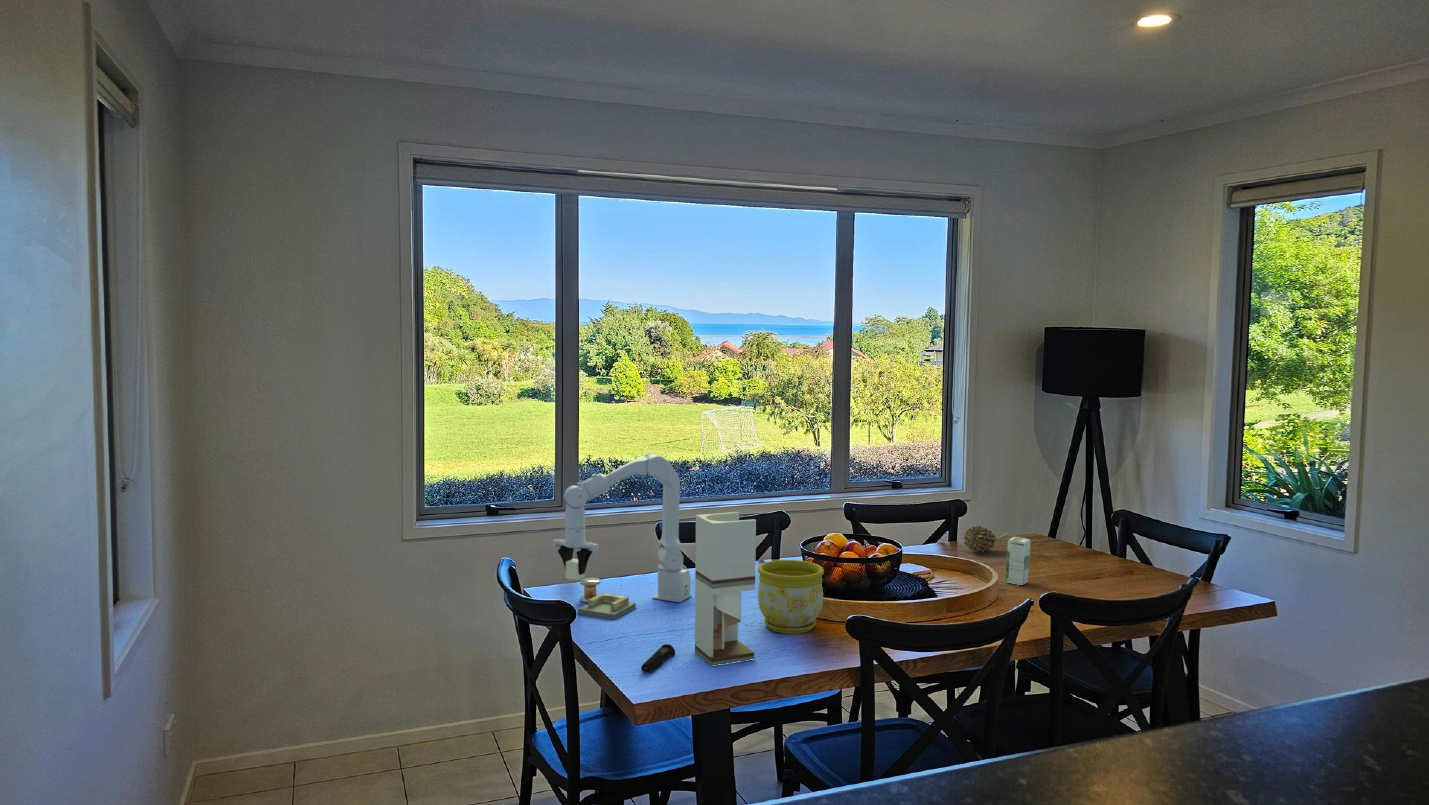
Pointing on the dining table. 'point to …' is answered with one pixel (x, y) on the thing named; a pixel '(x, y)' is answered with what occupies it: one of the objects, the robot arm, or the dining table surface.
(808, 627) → the flowerpot
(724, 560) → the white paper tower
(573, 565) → the block
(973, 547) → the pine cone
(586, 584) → the bobbin spool
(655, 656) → the electric trimmer
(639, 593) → the dining table surface
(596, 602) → the notched board
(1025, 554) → the syrup box
